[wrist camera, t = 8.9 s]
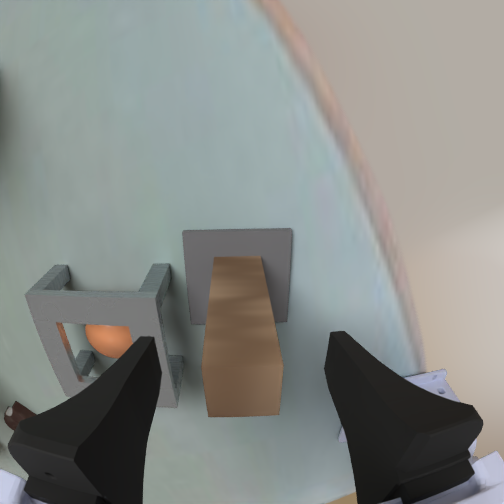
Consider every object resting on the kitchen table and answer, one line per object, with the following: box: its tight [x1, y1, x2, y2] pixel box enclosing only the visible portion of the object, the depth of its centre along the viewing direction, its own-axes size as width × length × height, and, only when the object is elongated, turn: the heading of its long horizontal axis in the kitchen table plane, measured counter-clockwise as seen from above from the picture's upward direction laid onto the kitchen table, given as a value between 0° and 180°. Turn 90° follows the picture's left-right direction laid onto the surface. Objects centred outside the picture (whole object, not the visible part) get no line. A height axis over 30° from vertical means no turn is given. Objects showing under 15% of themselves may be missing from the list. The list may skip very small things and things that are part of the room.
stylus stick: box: [201, 256, 284, 417], centre depth 14 cm, size 3×3×9 cm
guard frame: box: [25, 264, 184, 408], centre depth 18 cm, size 8×8×4 cm
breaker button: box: [86, 324, 133, 358], centre depth 19 cm, size 3×3×2 cm
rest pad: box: [182, 228, 292, 324], centre depth 19 cm, size 6×6×1 cm
